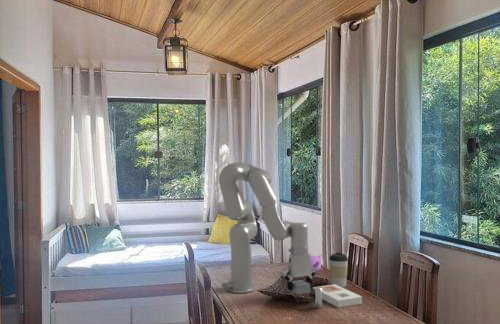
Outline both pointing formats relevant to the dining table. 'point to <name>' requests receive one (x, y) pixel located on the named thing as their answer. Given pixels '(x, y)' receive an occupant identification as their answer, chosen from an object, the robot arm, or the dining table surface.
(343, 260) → the coffee cup
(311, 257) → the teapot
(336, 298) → the board
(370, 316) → the dining table surface
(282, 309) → the dining table surface
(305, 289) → the cover
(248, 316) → the dining table surface
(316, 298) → the pin
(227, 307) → the dining table surface
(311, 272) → the robot arm
